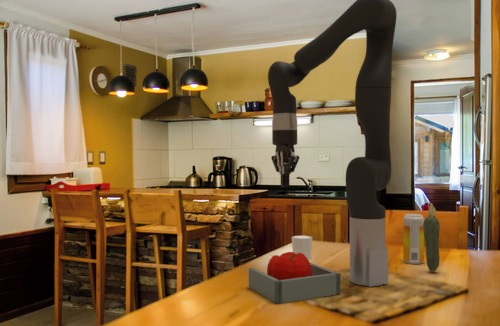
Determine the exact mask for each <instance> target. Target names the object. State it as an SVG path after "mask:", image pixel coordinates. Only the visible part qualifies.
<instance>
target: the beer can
mask: <svg viewBox="0 0 500 326" xmlns="http://www.w3.org/2000/svg"><path fill="white" fill-rule="evenodd" d="M402 220H403V227H402V228H403V230H402V231H403V234H402V235H403V240H402V241H403V245H402V247H403V254H402V255H403V256H402V257H403V261H404V262H405V264H410V265H421V264H423V262H424V260H425V259H424V258H425V238H424V231H423V224H424V220H425V218H424V216H423V214H419V213H405V214H404V216H403V219H402Z"/></svg>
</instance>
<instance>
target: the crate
mask: <svg viewBox="0 0 500 326" xmlns="http://www.w3.org/2000/svg"><path fill="white" fill-rule="evenodd" d="M310 265H311V268H312V276H308V277H301V278H293V279H286V280H278V279H276V278H274V277H271V276H269V275H267V273H266V272H263V271H261V270H259V269H257V268H254V267H249V268H248V288H249V289H250V290H252V291H254V292H256V293H258V294H259V295H261V296H263V297H265V298H266V299H267V300H269V301H271V302H273V303H274V304H277V305H281V304H286V303H293V302H299V301H300V302H302V301H307V300H312V299H318V298H325V297H324V296H327V297H331V295H333V296H337V295H336V294H339V295H341V273H339V272H336V271H334V270H331V269H329V268H326V267H324V266H320V265H318V264H316V263H312V262H310Z"/></svg>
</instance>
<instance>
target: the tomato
mask: <svg viewBox="0 0 500 326" xmlns="http://www.w3.org/2000/svg"><path fill="white" fill-rule="evenodd" d="M310 263H311V262H310V259H307V258H306V256H305V255H304V254H302V253H296V254H295V253H294V252H293V251H288V252H283V253H281V254H280V255H278V254H274V255H272V257H271V258H270V259H269V262H268V263H267V269H266V274H267V275H269V276H271V277H274V278H276V279H278V280H286V279H293V278H301V277H308V276H312V268H311V265H310Z"/></svg>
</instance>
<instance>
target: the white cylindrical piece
mask: <svg viewBox="0 0 500 326" xmlns="http://www.w3.org/2000/svg"><path fill="white" fill-rule="evenodd" d="M291 245H292V252H294V253H295V254H296V253H302V254H304V255H305V256H306V258H307V259H308V260H310V259H311V258H312V256H311V255H312V246H313V236H309V235H301V234H300V235H293V236H291Z"/></svg>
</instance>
